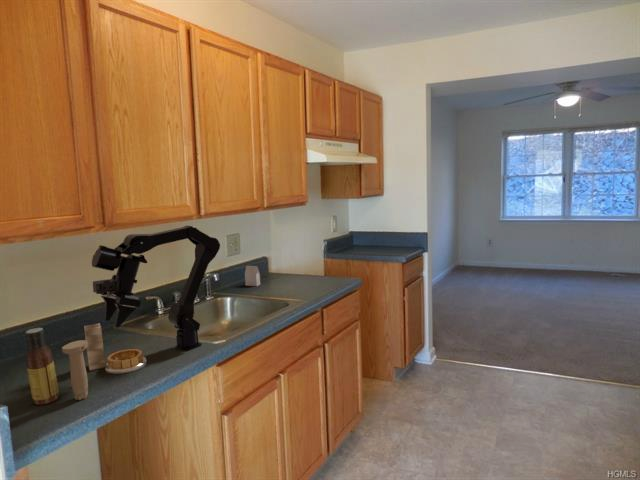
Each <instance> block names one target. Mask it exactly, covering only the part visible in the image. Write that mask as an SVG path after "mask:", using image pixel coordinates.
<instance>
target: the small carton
mask: <svg viewBox="0 0 640 480" xmlns="http://www.w3.org/2000/svg"><path fill="white" fill-rule="evenodd" d="M244 271H245V272H244V281H245V286H246V287H247V286H248V287H258V286H261V274H260V270H259V268H258V265H257V266H256V265H255V266H253V265H246V266H245V270H244Z"/></svg>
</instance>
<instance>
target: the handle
mask: <svg viewBox="0 0 640 480" xmlns="http://www.w3.org/2000/svg"><path fill="white" fill-rule="evenodd" d="M87 346H88V342H87V341H86V339H84V340H83V339H82V340H74V341H71V342H69V343H67V344H65V345H63V346H62V347H61V350H62V351H61V352H62V353H63V354H64V355H65V354H66V355H68V358H69V370H70V371H69V373H70V385H71V388H72V393H73V394H74V395H73V397H74V398H73V399H75V400H78V401H81V400H85V399H87V397H88V395H89V391H88V389H89V382H88V380H89V379H88V374H87V369H86V362H85V357H84V351H85V350H87Z"/></svg>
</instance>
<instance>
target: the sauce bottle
mask: <svg viewBox="0 0 640 480" xmlns="http://www.w3.org/2000/svg"><path fill="white" fill-rule="evenodd" d="M44 334H45V332H44V328H43V327H36V328H30V329H28V330H26V331H25V338H26V340H27V347H28V349H27V353H26V355H25V366H26V370H27V376H28V383H29V386H30V392H31V397H32V399H33V403H34V404H35V405H40V406H43V405H46V404H51V403H53V402H55V401H57V400H58V399H59V397H60V393H59V390H60V389H59V385H58V378H57V373H56V368H55V361H54V359H53V354H52V350H51V349H50V347H49V346H47V344H46V342H45V336H44Z"/></svg>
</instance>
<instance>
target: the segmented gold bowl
mask: <svg viewBox="0 0 640 480" xmlns="http://www.w3.org/2000/svg"><path fill="white" fill-rule="evenodd" d="M147 362H148V361H147V358H146V357H145V356H144V355H143V351H142V350H141V349H137V348H132V349H131V348H129V349H123V350H118V351H115V352H113V353H111V354H110V355H109V356H107V363H105V367H104V370H105V372H106V373H108V374H111V375H122V374H128V373H132V372H135V371H138V370H140V369H143V367H145V366H146V365H147Z"/></svg>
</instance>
